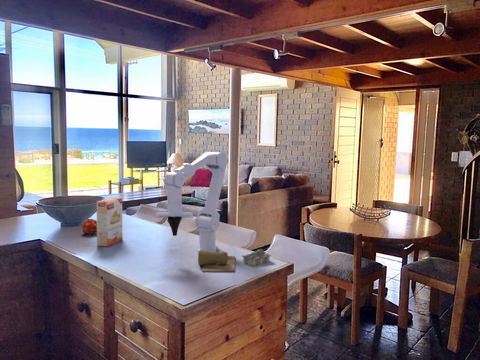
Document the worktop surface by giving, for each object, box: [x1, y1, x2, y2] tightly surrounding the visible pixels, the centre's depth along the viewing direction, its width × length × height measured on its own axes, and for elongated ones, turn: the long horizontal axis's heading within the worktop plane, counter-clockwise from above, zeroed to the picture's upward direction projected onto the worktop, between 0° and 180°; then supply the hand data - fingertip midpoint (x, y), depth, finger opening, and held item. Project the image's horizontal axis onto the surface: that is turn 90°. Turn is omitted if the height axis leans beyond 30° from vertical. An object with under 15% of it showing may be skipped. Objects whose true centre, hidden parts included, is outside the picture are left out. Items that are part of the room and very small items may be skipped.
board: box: [201, 255, 236, 273], centre depth 153 cm, size 18×12×1 cm, turn 0°
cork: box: [197, 250, 229, 266], centre depth 151 cm, size 6×6×11 cm
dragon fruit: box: [81, 218, 97, 236], centre depth 201 cm, size 8×8×12 cm
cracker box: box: [95, 197, 123, 247], centre depth 183 cm, size 14×6×21 cm, turn 168°
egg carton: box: [241, 248, 272, 266], centre depth 157 cm, size 11×8×4 cm
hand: (174, 235), depth 157 cm, fingers closed
